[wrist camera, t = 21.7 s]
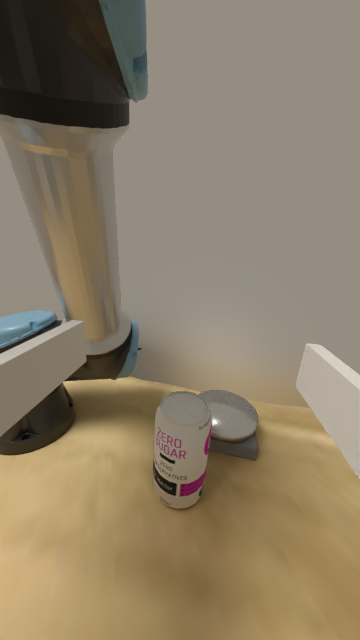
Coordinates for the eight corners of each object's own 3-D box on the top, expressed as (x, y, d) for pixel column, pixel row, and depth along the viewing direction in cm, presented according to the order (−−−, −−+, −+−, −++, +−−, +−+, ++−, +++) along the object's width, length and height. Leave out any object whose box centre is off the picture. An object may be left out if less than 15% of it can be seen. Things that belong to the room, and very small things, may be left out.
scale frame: (186, 445, 42) (187, 434, 42) (195, 403, 55) (196, 394, 54) (255, 460, 40) (258, 449, 39) (248, 413, 52) (250, 404, 52)
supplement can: (202, 463, 39) (210, 391, 35) (204, 515, 31) (216, 430, 27) (157, 458, 39) (160, 386, 35) (148, 509, 31) (151, 424, 27)
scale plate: (184, 443, 42) (185, 427, 41) (194, 399, 55) (195, 385, 54) (259, 460, 39) (263, 443, 38) (251, 409, 53) (253, 395, 51)
